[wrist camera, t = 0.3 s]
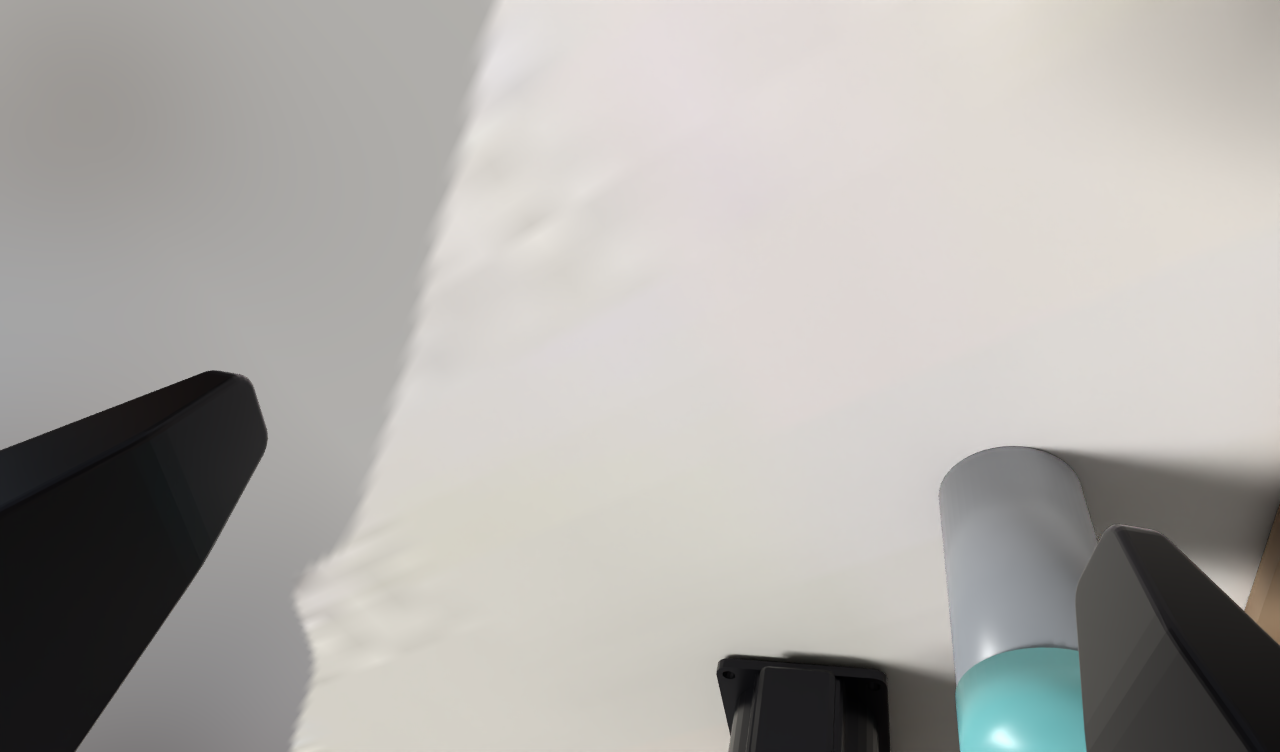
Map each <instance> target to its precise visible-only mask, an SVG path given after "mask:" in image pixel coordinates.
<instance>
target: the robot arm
mask: <svg viewBox="0 0 1280 752" xmlns="http://www.w3.org/2000/svg"><path fill="white" fill-rule="evenodd" d="M267 440H268V435H267V428H266V425H265V422H264V419H263V415H262V412H261V409H260V405H259V402H258V399H257V396H256V393H255V389H254V387H253V384H252V383H251V381H250V380H249V379H248V378H247V377H245V376H243V375H240V374H234V373H229V372H222V371H214V370H212V371H206V372H203V373H201V374H198V375H196V376H193V377H190V378H188V379H185V380H182V381H180V382H177V383H175V384H172V385H170V386H167V387H164V388H162V389H159V390H156V391H154V392H151V393H149V394H146V395H143V396H141V397H138V398H136V399H133V400H130V401H128V402H125V403H123V404H120V405H117V406H115V407H112V408H110V409H107V410H105V411H102V412H99V413H96V414H94V415H91V416H89V417H86V418H83V419H81V420H79V421H76V422H73V423H70V424H68V425H65V426H63V427H60V428H58V429H55V430H52V431H50V432H47V433H44V434H42V435H40V436H37V437H34V438H31V439H29V440H26V441H24V442H21V443H18V444H16V445H13V446H11V447H8V448H5V449H3V450H0V752H76V750H77V749H78V748H79V746H80V744H81V743H82V742H83V740H84V739H85V737H86V736H87V734H88V733H89V731H90V730H91V729H92V727H93V726H94V724H95V723H96V721H97V720H98V718H99V717H100V715H101V714H102V712H103V711H104V710H105V708H106V707H107V705H108V704H109V702H110V701H111V699H112V698H113V696H114V695H115V693H116V692H117V690H118V689H119V688H120V686H121V685H122V683H123V682H124V680H125V679H126V677H127V676H128V674H129V673H130V671H131V670H132V669H133V667H134V666H135V664H136V663H137V661H138V660H139V658H140V657H141V655H142V654H143V652H144V651H145V650H146V648H147V647H148V645H149V644H150V642H151V641H152V639H153V638H154V636H155V635H156V634H157V632H158V631H159V629H160V628H161V626H162V625H163V623H164V622H165V620H166V619H167V617H168V616H169V614H170V613H171V612H172V610H173V609H174V607H175V606H176V604H177V603H178V601H179V600H180V598H181V597H182V595H183V594H184V593H185V591H186V590H187V588H188V587H189V585H190V584H191V582H192V581H193V579H194V578H195V576H196V575H197V573H198V571H199V570H200V568H201V567H202V565H203V564H204V562H205V560H206V558H207V557H208V555H209V553H210V551H211V550H212V548H213V546H214V545H215V543H216V541H217V539H218V537H219V535H220V534H221V532H222V530H223V528H224V526H225V524H226V523H227V521H228V519H229V517H230V515H231V513H232V511H233V510H234V508H235V506H236V504H237V502H238V500H239V498H240V497H241V495H242V493H243V491H244V489H245V488H246V486H247V484H248V482H249V480H250V478H251V476H252V474H253V473H254V471H255V469H256V467H257V465H258V464H259V462H260V460H261V458H262V456H263V454H264V452H265V449H266V446H267ZM1075 611H1076V624H1077V638H1078V651H1079V665H1080V678H1081V692H1082V705H1083V719H1084V731H1085V741H1086V751H1087V752H1280V645H1279V644H1278V643H1277V642H1276V641H1275V640H1274V639H1273V638H1272V637H1271V636H1270V635H1269V634H1268V633H1267V632H1265V631H1264V630H1263V629H1262V628H1261V627H1260V626H1259V625H1258V624H1257V623H1256V622H1255V621H1254V620H1253V619H1252V618H1251V617H1250V616H1249V615H1248V614H1247V613H1246V612H1245V611H1243V610H1242V609H1241V608H1240V607H1239V606H1238V605H1237V604H1236V603H1235V602H1234V601H1233V600H1232V599H1231V598H1230V597H1229V596H1228V595H1227V594H1226V593H1225V592H1224V591H1222V590H1221V589H1220V588H1219V587H1218V586H1217V585H1216V584H1215V583H1214V582H1213V581H1212V580H1211V579H1210V578H1209V577H1208V576H1207V575H1206V574H1205V573H1204V572H1203V571H1201V570H1200V569H1199V568H1198V567H1197V566H1196V565H1195V564H1194V563H1193V562H1192V561H1191V560H1190V559H1189V558H1188V557H1187V556H1186V555H1185V554H1184V553H1183V552H1182V551H1181V550H1179V549H1178V548H1177V547H1176V546H1175V545H1174V544H1173V543H1172V542H1171V541H1170V540H1169V539H1168V538H1167V537H1165V536H1164V535H1163V534H1162V533H1160V532H1158V531H1155V530H1151V529H1145V528H1140V527H1134V526H1128V525H1122V524H1115V525H1111V526H1109V527H1108V528H1107V529H1106V530H1105V531H1104V533H1103V534H1102V536H1101V538H1100V540H1099V542H1098V544H1097V546H1096V548H1095V550H1094V552H1093V554H1092V555H1091V557H1090V559H1089V561H1088V563H1087V565H1086V567H1085V569H1084V571H1083V573H1082V575H1081V577H1080V579H1079V581H1078V585H1077V588H1076V594H1075ZM717 679H718V683H719V687H720V692H721V696H722V701H723V705H724V709H725V714H726V718H727V723H728V727H729V731H730V736H731V738H730V745H729V752H890V734H889V708H888V683H887V676H886V675H885V674H884V673H883V672H881V671H879V670H875V669H864V668H851V667H837V666H823V665H810V664H796V663H782V662H769V661H755V660H741V659H722V660H720V661H719V662H718V667H717Z"/></svg>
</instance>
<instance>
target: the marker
mask: <svg viewBox="0 0 1280 752" xmlns="http://www.w3.org/2000/svg"><path fill="white" fill-rule="evenodd" d="M939 504H940V515H941V526H942V536H943V547H944V558H945V569H946V580H947V590H948V601H949V612H950V623H951V633H952V644H953V655H954V666H955V677H956V692H955V699H956V711H957V722H958V733H959V744H960V752H1087V751H1086V741H1085V731H1084V719H1083V705H1082V692H1081V678H1080V665H1079V651H1078V638H1077V624H1076V611H1075V594H1076V588H1077V585H1078V581H1079V579H1080V577H1081V575H1082V573H1083V571H1084V569H1085V567H1086V565H1087V563H1088V561H1089V559H1090V557H1091V555H1092V554H1093V552H1094V550H1095V548H1096V546H1097V544H1098V542H1097V538H1096V535H1095V531H1094V528H1093V525H1092V521H1091V518H1090V514H1089V511H1088V507H1087V504H1086V501H1085V497H1084V494H1083V490H1082V487H1081V484H1080V481H1079V478H1078V477H1077V475H1076V473H1075V472H1074V471H1073V470H1072V468H1071V467H1070V466H1069V465H1067V464H1066V463H1065V462H1064V461H1062V460H1061V459H1059V458H1058V457H1056V456H1054V455H1052V454H1050V453H1047V452H1044V451H1041V450H1037V449H1033V448H1026V447H999V448H992V449H988V450H984V451H981V452H978V453H975V454H973V455H971V456H969V457H967V458H965V459H963V460H962V461H960V462H959V463H958V464H956V465H955V466H954V467H953V468H952V469H951V470H950V471H949V472H948V473H947V475H946V476H945V477H944V479H943V481H942V483H941V486H940V490H939Z"/></svg>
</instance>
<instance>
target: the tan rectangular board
mask: <svg viewBox="0 0 1280 752" xmlns="http://www.w3.org/2000/svg"><path fill="white" fill-rule="evenodd" d="M1245 612H1246V613H1247V614H1248V615H1249V616H1250V617H1251V618H1252V619H1253V620H1254V621H1255V622H1256V623H1257V624H1258V625H1259V626H1260V627H1261V628H1262V629H1263V630H1264V631H1265V632H1267V633H1268V634H1269V635H1270V636H1271V637H1272V638H1273V639H1274V640H1275V641H1276V642H1277V643H1278V644H1279V645H1280V505H1279V508H1278V511H1277V514H1276V517H1275V520H1274V523H1273V526H1272V529H1271V532H1270V535H1269V538H1268V541H1267V544H1266V547H1265V550H1264V553H1263V556H1262V559H1261V562H1260V565H1259V568H1258V571H1257V574H1256V577H1255V580H1254V583H1253V586H1252V590H1251V593H1250V596H1249V599H1248V602H1247V605H1246V608H1245Z"/></svg>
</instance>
